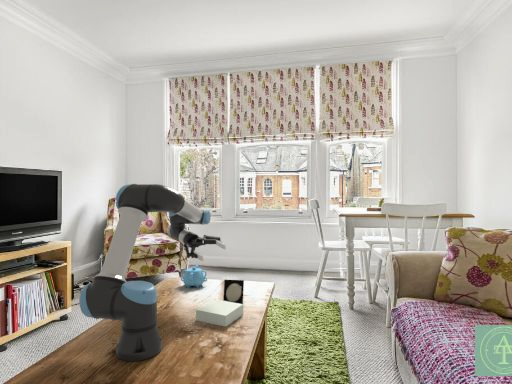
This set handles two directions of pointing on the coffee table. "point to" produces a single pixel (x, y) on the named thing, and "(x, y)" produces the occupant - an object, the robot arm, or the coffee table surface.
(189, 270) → the blue ceramic pot
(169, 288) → the coffee table surface
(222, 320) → the sage block
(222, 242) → the robot arm
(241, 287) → the decorative object
